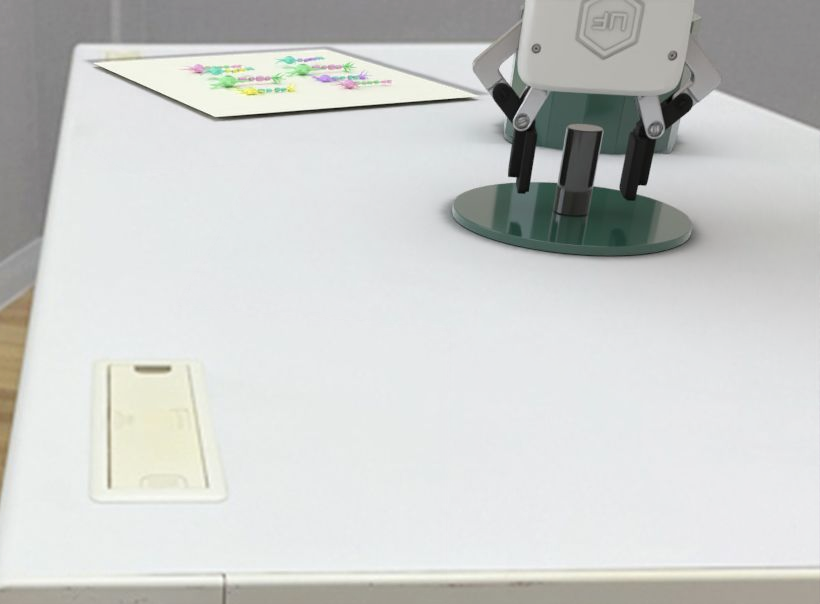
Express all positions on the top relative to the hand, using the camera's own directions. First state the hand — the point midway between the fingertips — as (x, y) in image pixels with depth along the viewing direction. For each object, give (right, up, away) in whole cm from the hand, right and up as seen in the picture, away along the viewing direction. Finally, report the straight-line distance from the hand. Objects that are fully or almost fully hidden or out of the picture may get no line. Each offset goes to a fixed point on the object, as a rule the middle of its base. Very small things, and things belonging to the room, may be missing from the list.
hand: (574, 189), depth 82 cm
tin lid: (0, -2, +1) cm, 2 cm away
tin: (+8, +13, +25) cm, 29 cm away
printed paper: (-18, +26, +45) cm, 56 cm away
